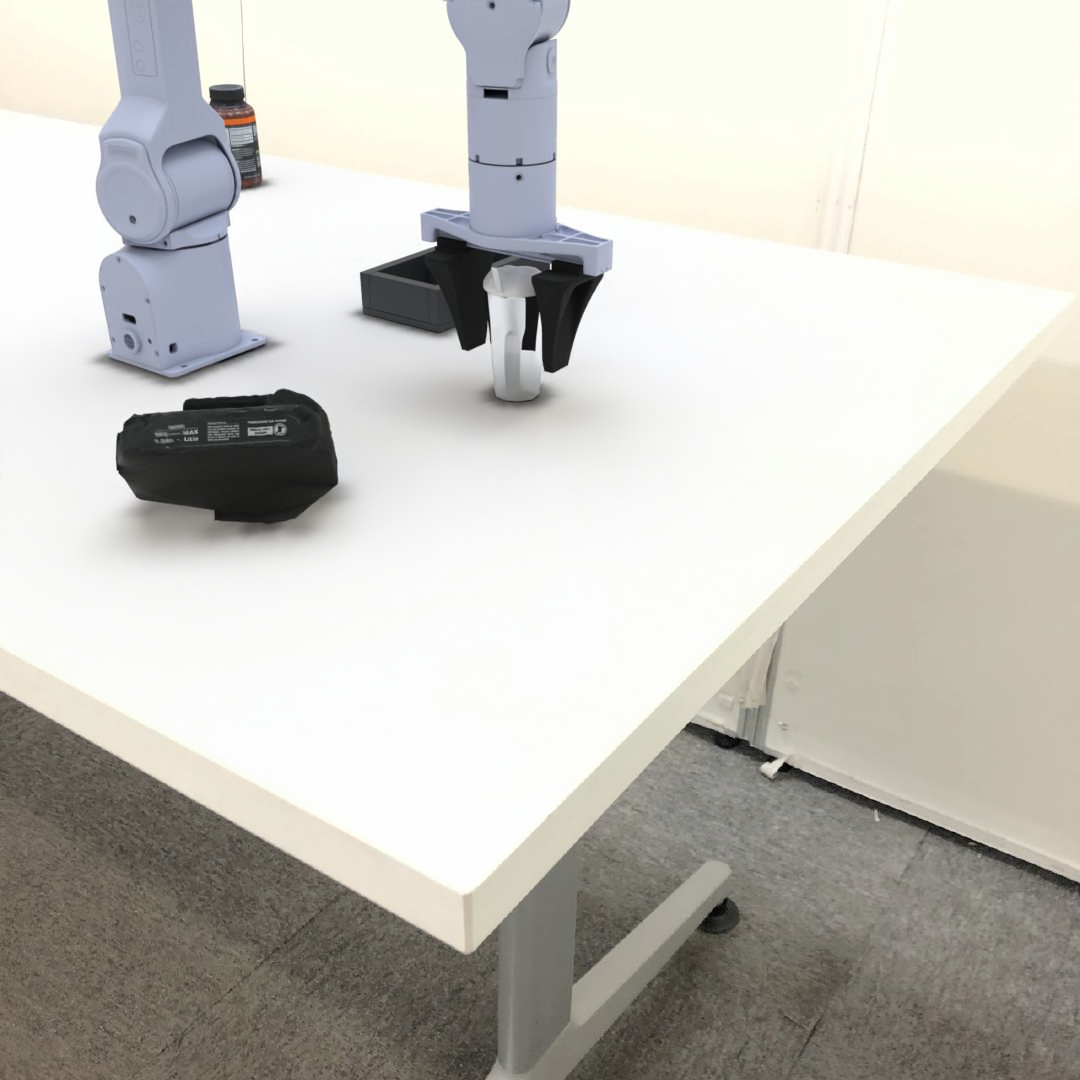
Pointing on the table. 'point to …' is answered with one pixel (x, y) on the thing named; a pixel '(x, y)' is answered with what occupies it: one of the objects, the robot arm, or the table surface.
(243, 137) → the supplement bottle
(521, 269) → the milkshake
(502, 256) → the dark grey divided tray
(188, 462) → the battery
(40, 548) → the table surface
